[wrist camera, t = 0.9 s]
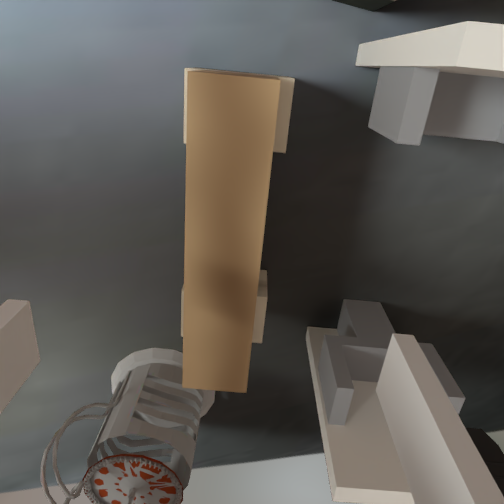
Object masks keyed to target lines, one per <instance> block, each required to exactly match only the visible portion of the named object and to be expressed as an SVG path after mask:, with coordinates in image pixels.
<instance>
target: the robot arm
mask: <svg viewBox="0 0 504 504" xmlns="http://www.w3.org/2000/svg"><path fill="white" fill-rule="evenodd" d="M39 362H40V356H39V351H38V345H37V340H36V334H35V329H34V323H33V318H32V312H31V307H30V301H25V300H13V299H7V300H6V301H5V302H4V303H3V304H2V305H1V306H0V414H1V413H2V411H3V410H4V409H5V407H6V406H7V405H8V403H9V402H10V401H11V399H12V398H13V397H14V395H15V394H16V393H17V391H18V390H19V389H20V387H21V386H22V385H23V383H24V382H25V381H26V379H27V378H28V377H29V375H30V374H31V373H32V371H33V370H34V369H35V367H36V366H37V365H38V364H39ZM376 393H377V396H378V398H379V401H380V404H381V407H382V410H383V413H384V416H385V419H386V422H387V424H388V427H389V430H390V433H391V436H392V439H393V442H394V445H395V448H396V450H397V453H398V456H399V459H400V462H401V465H402V468H403V471H404V474H405V476H406V479H407V482H408V485H409V488H410V491H411V494H412V497H413V500H414V502H415V504H504V454H503V452H502V451H501V449H500V447H499V446H498V445H497V444H496V443H495V442H494V441H493V440H492V439H491V438H490V437H489V436H488V435H487V434H486V433H485V432H484V431H483V430H482V429H474V428H465V427H464V425H463V423H462V421H461V419H460V418H459V416H458V414H457V412H456V410H455V409H454V407H453V405H452V403H451V401H450V400H449V398H448V396H447V394H446V393H445V391H444V389H443V387H442V385H441V384H440V382H439V380H438V378H437V376H436V375H435V373H434V371H433V369H432V367H431V366H430V364H429V362H428V360H427V358H426V357H425V355H424V353H423V351H422V349H421V348H420V346H419V344H418V342H417V341H416V339H415V337H414V335H407V334H396V333H393V334H392V337H391V340H390V344H389V347H388V350H387V354H386V357H385V360H384V364H383V367H382V370H381V374H380V377H379V380H378V384H377V387H376Z"/></svg>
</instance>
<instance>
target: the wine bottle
mask: <svg viewBox="0 0 504 504" xmlns="http://www.w3.org/2000/svg"><path fill="white" fill-rule="evenodd" d="M333 1H337V2H341V3H344V4H348V5H352V6H355V7H359V8H363V9H366V10H370V11H375V10H377V9H379V8H381V7H383V6H386V5H388V4H390V3H392V2H394V1H396V0H333Z"/></svg>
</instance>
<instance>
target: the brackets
mask: <svg viewBox="0 0 504 504" xmlns="http://www.w3.org/2000/svg"><path fill="white" fill-rule="evenodd" d="M355 66H363V67H373V68H380V71H379V76H378V81H377V85H376V90H375V95H374V100H373V105H372V109H371V114H370V119H369V124H368V127H369V128H371V129H372V130H374V131H376V132H378V133H379V134H381V135H383V136H385V137H386V138H388V139H390V140H392V141H393V142H395V143H398V144H409V145H419V146H420V142H421V138H422V135H423V134H424V135H434V136H444V137H455V138H465V139H476V140H486V141H496V142H500V143H503V144H504V25H503V24H494V23H484V22H474V21H466V22H461V23H456V24H451V25H447V26H442V27H437V28H433V29H428V30H423V31H419V32H414V33H409V34H405V35H400V36H395V37H391V38H386V39H381V40H377V41H372V42H367V43H363V44H359V48H358V54H357V59H356V65H355ZM393 333H395V331H394V329H393V327H392V325H391V323H390V321H389V319H388V317H387V315H386V313H385V311H384V309H383V307H382V305H381V303H380V302H374V301H362V300H350V299H343V304H342V308H341V313H340V317H339V322H338V326H337V329H332V328H320V327H309V326H308V327H307V332H306V344H307V350H308V356H309V362H310V368H311V374H312V380H313V386H314V392H315V398H316V404H317V410H318V416H319V423H320V429H321V435H322V441H323V447H324V453H325V459H326V465H327V471H328V477H329V483H330V489H331V495H332V501H337V502H349V503H362V504H415V502H414V500H413V497H412V494H411V491H410V488H409V485H408V482H407V479H406V476H405V474H404V471H403V468H402V465H401V462H400V459H399V456H398V453H397V450H396V448H395V445H394V442H393V439H392V436H391V433H390V430H389V427H388V424H387V422H386V419H385V416H384V413H383V410H382V407H381V404H380V401H379V398H378V396H377V393H376V387H377V384H378V380H379V377H380V374H381V370H382V367H383V364H384V360H385V357H386V354H387V350H388V347H389V344H390V340H391V337H392V334H393ZM418 344H419V346H420V348H421V349H422V351H423V353H424V355H425V357H426V358H427V360H428V362H429V364H430V366H431V367H432V369H433V371H434V373H435V375H436V376H437V378H438V380H439V382H440V384H441V385H442V387H443V389H444V391H445V393H446V394H447V396H448V398H449V400H450V401H451V403H452V405H453V407H454V409H455V410H456V412H457V414H459V412H460V410H461V408H462V405H463V403H464V401H465V396H464V395H463V393H462V392H461V390H460V388H459V387H458V385H457V383H456V382H455V380H454V379H453V377H452V375H451V374H450V372H449V370H448V369H447V367H446V366H445V364H444V362H443V361H442V359H441V357H440V356H439V354H438V353H437V351H436V349H435V348H434V346H433V344H430V343H418Z"/></svg>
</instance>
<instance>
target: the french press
mask: <svg viewBox="0 0 504 504" xmlns="http://www.w3.org/2000/svg"><path fill="white" fill-rule="evenodd" d="M182 374H183V353H181V352H179V351H177V350H173V349H162V348H149V349H145V350H141V351H136V352H133V353H131V354H130V355H128V356H127V357H126V358H124V359H123V360H121V361H120V362H119V363H118V364H117V366H116V368H115V370H114V372H113V374H112V376H111V384H112V393H113V396H112V398H111V400H110V403H109V404H105V403H94V404H90V405H86V406H83V407H82V408H80V409H78V410H77V411H75V412H74V413H73V414H72V415H71V416H70V417H69V418H68V419H67V420H66V421H65V422H64V424H63V426H62V427H61V428H60V429H59V430H58V431H57V432H56V433H55V435H54V436H53V438H52V439H51V441H50V443H49V444H48V446H47V447H46V449H45V450H44V454H43V458H42V462H41V484H42V487H43V490H44V493H45V496H46V498H47V499H48V500H49V502H50V504H56V502H55V501H54V500H53V498H52V497H51V495H50V494H49V490H48V487H47V483H46V479H45V469H46V459H47V454H48V452H49V450H50V448H51V446H52V445H53V443H54V441H55V443H54V448H53V469H54V472H55V476H56V479H57V483H58V485H59V486H60V488H61V489H62V491H63V492H64V494H65V495H66V497H67V498H66V500H65V502H64V504H69V502H70V500H71V499H75V498H76V497H78V496H79V495H80V493H81V490H82V487H84V493H85V494H86V496H87V497H88V498H89V499H90V501H91V502H92V503H93V504H181V502H182V501H183V490H184V489H185V488H186V487H187V486H188V482H189V479H190V473H191V469H192V463H193V458H194V452H195V447H196V441H197V435H198V429H199V423H200V418H201V417H202V416H204V415H206V413H207V412H208V410H209V409H210V407H211V406H212V404H213V403H214V400H215V390H203V389H191V388H182ZM91 407H107V409H106V411H105V413H104V414H103V415H83V416H79V417H75V416H77V415H78V414H79V413H81V412H82V411H83V410H84V409H86V408H91ZM105 416H106V418H105V420H104V422H103V425H102V427H101V429H100V431H99V434H98V436H97V438H96V441H95V443H94V445H93V448H92V450H91V452H90V454H89V457H88V459H87V466H88V470H87V472H86V474H85V476H84V478H83V481H80V482H79V483H78V484H77V485H76V486H75V487H74V488H73V489H72V490H71V492H69V491H68V489H67V488H66V486H65V485H64V484H63V482H62V481H61V477H60V474H59V471H58V468H57V449H58V444H59V439H60V437H61V436H62V434H63V432H64V431H65V429H66V427H67V426H69V425H70V424H71V423H73V422H74V421H77V420H81V419H85V418H86V419H102V418H104V417H105ZM74 417H75V418H74ZM122 435H139V436H145V437H150V438H152V439H144V440H131V439H129V438H126V437H124V436H122ZM113 437H116V438H117V439H118V441H119V442H120V443H122V444H124V445H126V446H129V447H137V446H147V445H156V444H170V445H171V446H173V447H174V449H159V450H149V451H142V452H134V453H128V452H126V451H123V450H120V449H118V448H117V447H116V445H115V444H114V442H113V440H112V439H111V438H113ZM105 440H107V444H108V446H109V447H110V449H111V451H112V452H113V454H114V455H113V456H108V455H107V453H106V451H105V449H104V443H103V441H105ZM99 447H100V453H101V458H102V460H100V461H99V462H98V459H97V454H96V453H97V451H98V449H99ZM157 456H172V458H171V462H160V461H158V460H155V459H152V458H149V457H157ZM76 490H77V491H76ZM75 491H76V493H75V494H73V493H74V492H75Z"/></svg>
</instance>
